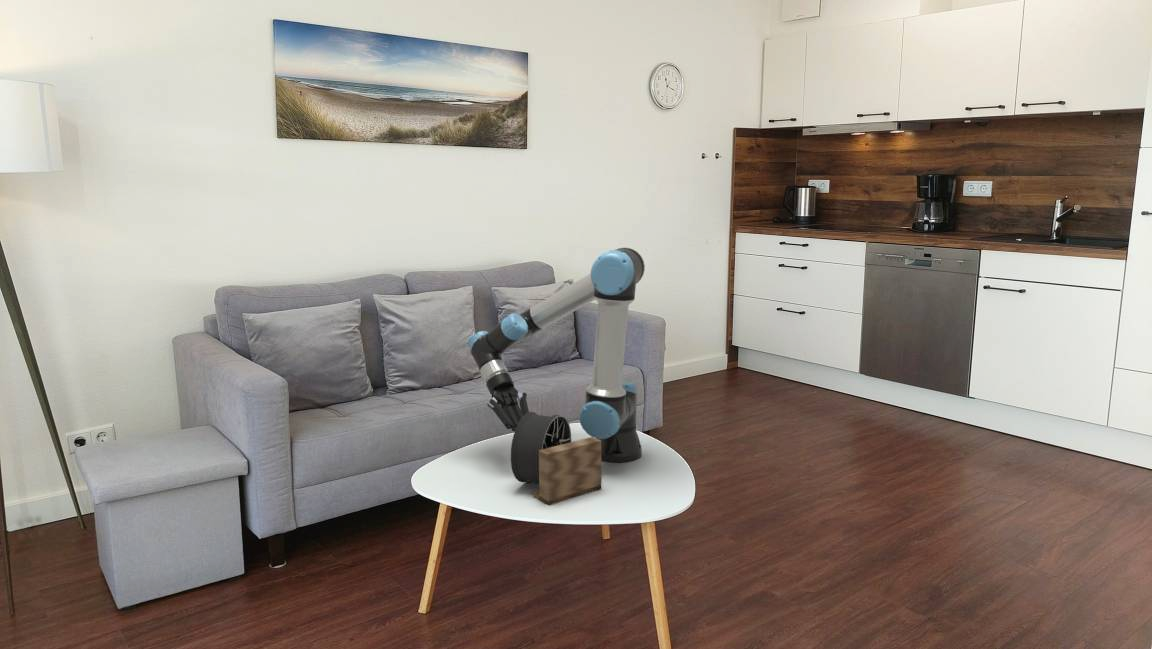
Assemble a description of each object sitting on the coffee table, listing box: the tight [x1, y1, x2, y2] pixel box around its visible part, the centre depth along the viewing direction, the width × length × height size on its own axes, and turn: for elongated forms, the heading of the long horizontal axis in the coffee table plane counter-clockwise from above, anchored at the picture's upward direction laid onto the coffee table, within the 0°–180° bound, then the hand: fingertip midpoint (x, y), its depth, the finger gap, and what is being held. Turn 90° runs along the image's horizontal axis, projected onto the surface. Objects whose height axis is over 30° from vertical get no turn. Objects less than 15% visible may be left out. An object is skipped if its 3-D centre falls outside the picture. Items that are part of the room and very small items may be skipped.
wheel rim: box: [510, 411, 572, 484], centre depth 229 cm, size 20×9×20 cm, turn 156°
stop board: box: [532, 436, 602, 506], centre depth 222 cm, size 18×7×14 cm, turn 128°
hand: (529, 446), depth 234 cm, fingers closed
